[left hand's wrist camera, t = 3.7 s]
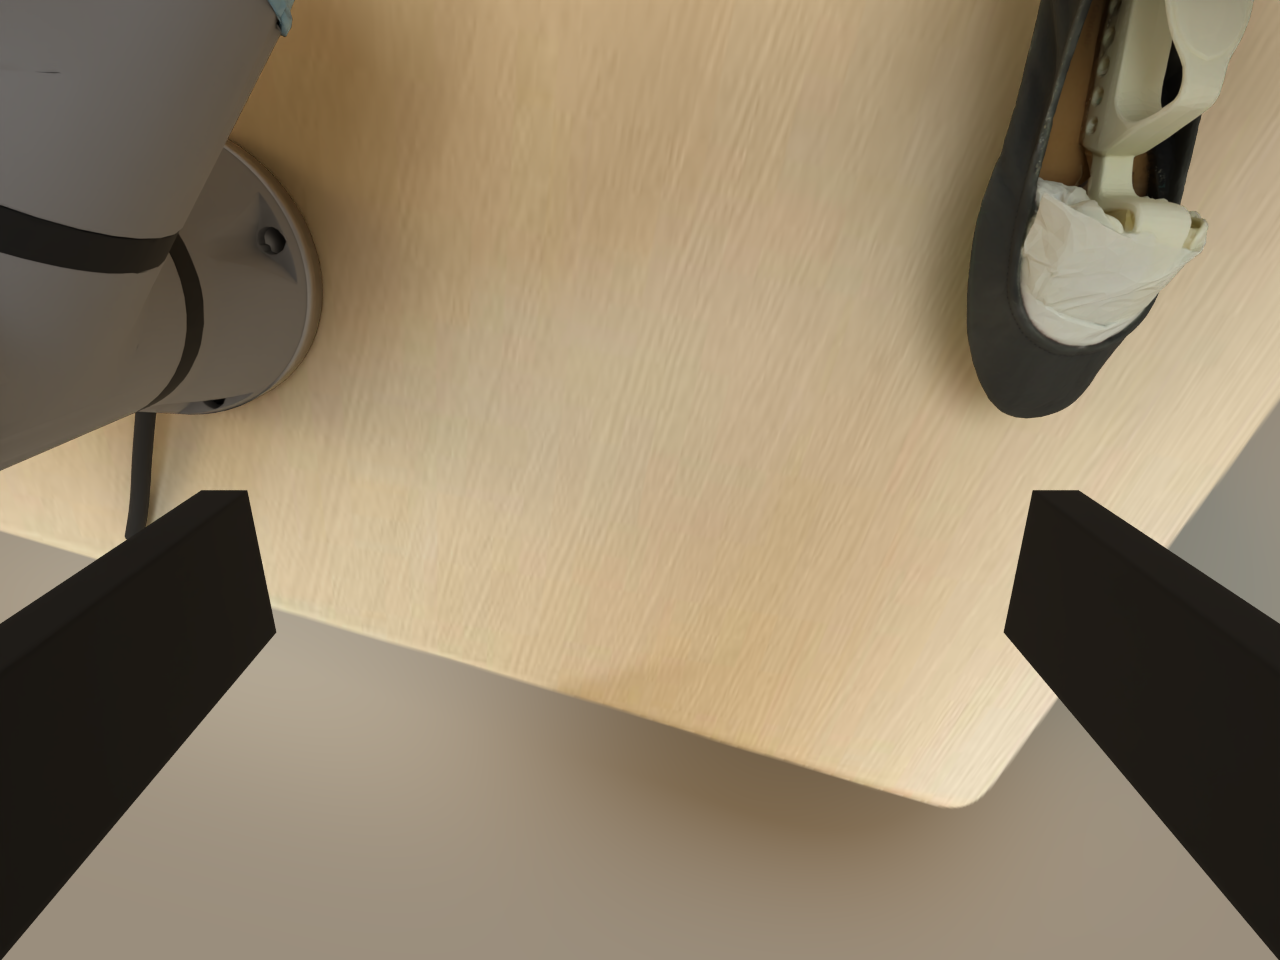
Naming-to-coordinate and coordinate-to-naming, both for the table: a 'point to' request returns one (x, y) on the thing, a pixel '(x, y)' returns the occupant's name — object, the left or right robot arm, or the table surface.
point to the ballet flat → (1091, 190)
